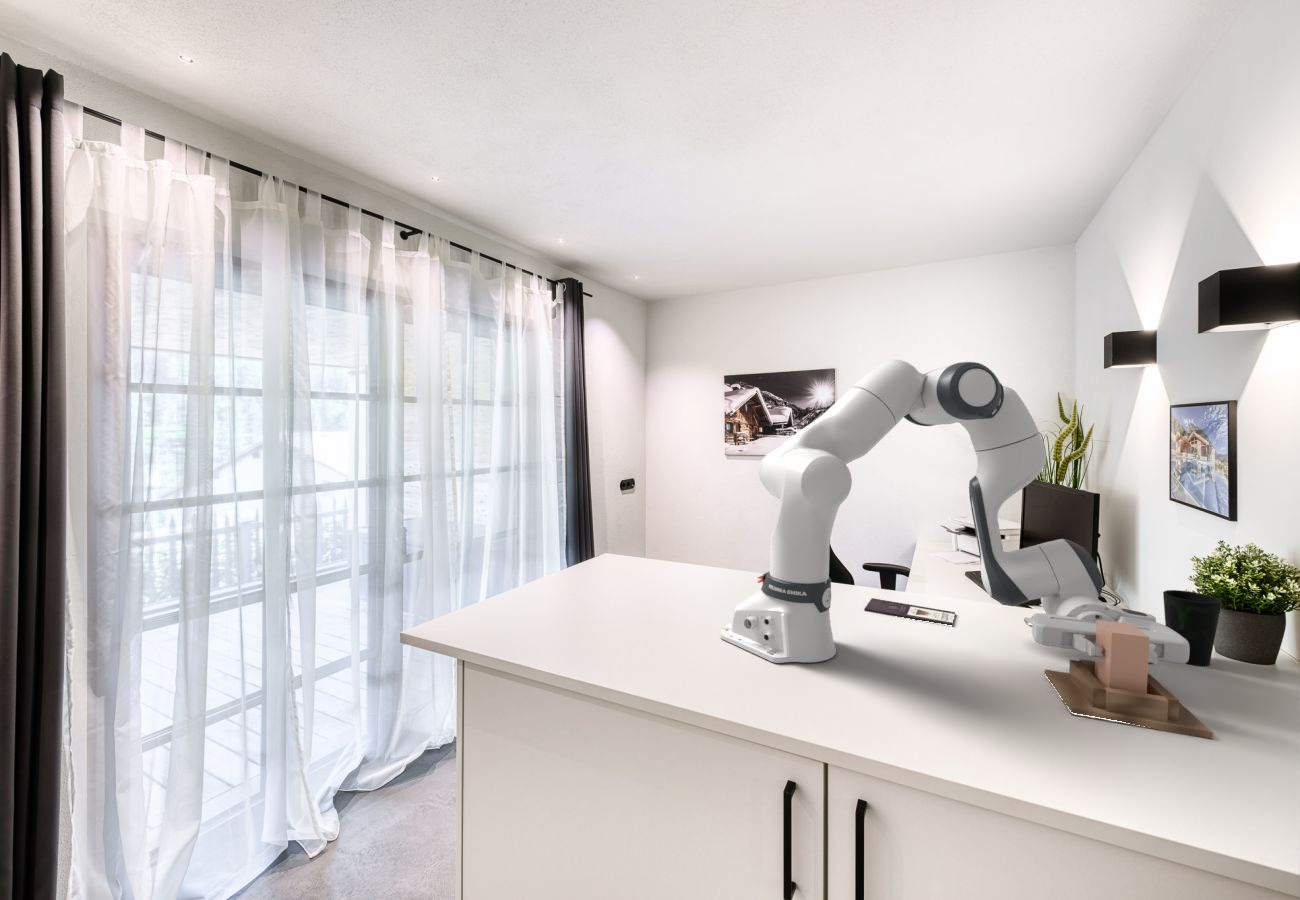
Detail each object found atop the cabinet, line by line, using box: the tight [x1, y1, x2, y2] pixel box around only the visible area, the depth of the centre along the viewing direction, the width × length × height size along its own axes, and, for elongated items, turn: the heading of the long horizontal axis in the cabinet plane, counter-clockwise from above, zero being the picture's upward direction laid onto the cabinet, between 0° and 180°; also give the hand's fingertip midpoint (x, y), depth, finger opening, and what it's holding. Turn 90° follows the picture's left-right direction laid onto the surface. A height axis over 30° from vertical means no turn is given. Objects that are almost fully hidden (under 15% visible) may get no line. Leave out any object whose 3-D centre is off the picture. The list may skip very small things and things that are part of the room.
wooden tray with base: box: [1044, 659, 1214, 740], centre depth 85 cm, size 16×14×4 cm
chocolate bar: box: [863, 597, 956, 626], centre depth 125 cm, size 9×1×18 cm
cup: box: [1162, 589, 1223, 667], centre depth 100 cm, size 8×8×12 cm
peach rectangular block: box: [1094, 620, 1150, 694], centre depth 84 cm, size 4×6×11 cm
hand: (1123, 655), depth 83 cm, fingers open, 5 cm apart
